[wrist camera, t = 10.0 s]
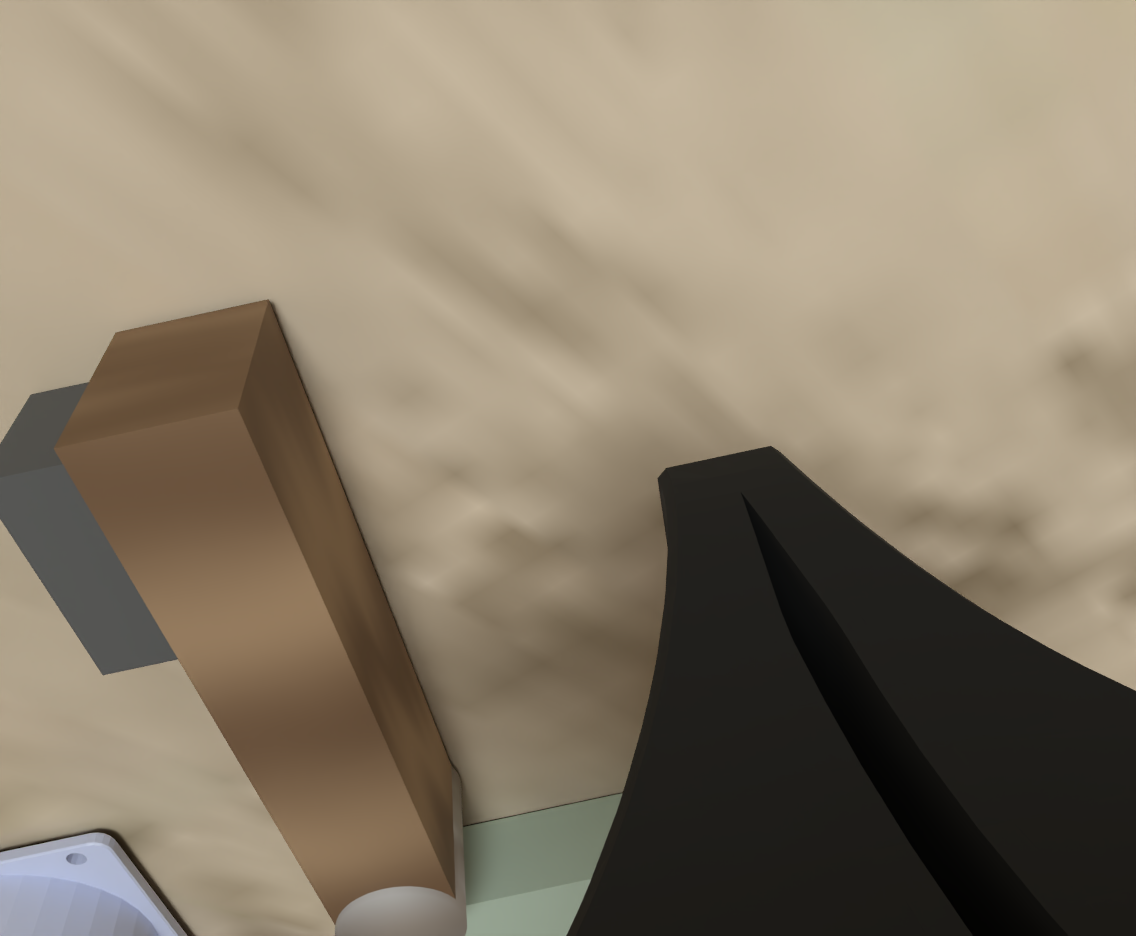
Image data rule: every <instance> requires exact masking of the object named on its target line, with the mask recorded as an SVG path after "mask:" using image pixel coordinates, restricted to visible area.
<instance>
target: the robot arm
mask: <svg viewBox="0 0 1136 936" xmlns="http://www.w3.org/2000/svg"><path fill="white" fill-rule="evenodd" d="M658 484H659V491H660V498H661V505H662V511H663V518H664V525H665V532H666V539H667V546H668V557H667V577H666V594H665V604H664V612H663V619H662V626H661V633H660V640H659V647H658V654H657V660H656V665H655V671H654V676H653V681H652V686H651V690H650V695H649V700H648V704H647V708H646V712H645V716H644V721H643V725H642V729H641V733H640V736H639V740H638V743H637V747H636V750H635V754H634V757H633V761H632V764H631V768H630V771H629V775H628V778H627V781H626V784H625V788H624V791H623V794H622V797H621V800H620V803H619V806H618V809H617V812H616V815H615V817H614V820H613V823H612V825H611V828H610V831H609V833H608V836H607V838H606V841H605V844H604V846H603V849H602V852H601V854H600V857H599V860H598V862H597V865H596V868H595V870H594V873H593V876H592V878H591V881H590V883H589V886H588V888H587V891H586V893H585V895H584V898H583V900H582V903H581V905H580V907H579V909H578V912H577V914H576V916H575V918H574V920H573V922H572V925H571V927H570V929H569V931H568V933H567V935H566V936H1136V691H1135V690H1133V689H1131V688H1129V687H1127V686H1124V685H1122V684H1120V683H1118V682H1116V681H1114V680H1112V679H1110V678H1108V677H1106V676H1103V675H1101V674H1099V673H1097V672H1095V671H1093V670H1091V669H1089V668H1087V667H1085V666H1083V665H1081V664H1079V663H1077V662H1075V661H1073V660H1071V659H1069V658H1067V657H1065V656H1063V655H1062V654H1060V653H1058V652H1056V651H1054V650H1052V649H1050V648H1048V647H1046V646H1045V645H1043V644H1041V643H1039V642H1038V641H1036V640H1034V639H1032V638H1031V637H1029V636H1027V635H1025V634H1024V633H1022V632H1020V631H1018V630H1017V629H1015V628H1013V627H1011V626H1010V625H1008V624H1006V623H1004V622H1003V621H1001V620H999V619H998V618H996V617H995V616H993V615H991V614H990V613H988V612H986V611H985V610H983V609H982V608H980V607H979V606H977V605H976V604H974V603H972V602H971V601H969V600H968V599H966V598H965V597H963V596H962V595H960V594H959V593H957V592H956V591H954V590H953V589H951V588H950V587H948V586H947V585H945V584H944V583H943V582H941V581H940V580H938V579H937V578H935V577H934V576H932V575H931V574H929V573H928V572H926V571H925V570H924V569H922V568H921V567H920V566H918V565H917V564H915V563H914V562H913V561H911V560H910V559H909V558H907V557H906V556H904V555H903V554H902V553H900V552H899V551H898V550H897V549H895V548H894V547H893V546H891V545H890V544H889V543H887V542H886V541H885V540H884V539H882V538H881V537H880V536H878V535H877V534H876V533H875V532H873V531H872V530H871V529H869V528H868V527H867V526H865V525H864V524H863V523H862V522H860V521H859V520H858V519H857V518H855V517H854V516H853V515H852V514H851V513H849V512H848V511H847V510H846V509H844V508H843V507H842V506H841V505H840V504H839V503H837V502H836V501H835V500H834V499H833V498H831V497H830V496H829V495H828V494H827V493H826V492H824V491H823V490H822V489H821V488H820V487H819V486H817V485H816V484H815V483H814V482H813V481H812V480H811V479H809V478H808V477H807V476H806V475H805V474H804V473H803V472H802V471H800V470H799V469H798V468H797V467H796V466H795V465H794V464H793V463H792V462H791V461H789V460H788V459H787V458H786V457H785V456H784V455H783V454H782V453H781V452H779V451H778V450H776V449H775V448H773V447H772V446H768V447H764V448H759V449H754V450H749V451H745V452H740V453H735V454H731V455H726V456H721V457H716V458H712V459H707V460H702V461H698V462H693V463H688V464H684V465H679V466H674V467H669V468H666V469H665V470H664V471H663V473H662V474H661V475H660V476H659V477H658ZM0 936H187V934H186V933H185V932H184V931H183V929H182V928H181V927H180V925H179V924H178V923H177V921H176V920H175V919H174V917H173V916H172V915H171V913H170V912H169V911H168V909H167V908H166V907H165V905H164V904H163V903H162V901H161V900H160V899H159V897H158V896H157V895H156V893H155V892H154V891H153V889H152V888H151V887H150V885H149V884H148V883H147V881H146V880H145V879H144V877H143V876H142V875H141V873H140V872H139V871H138V869H137V868H136V867H135V865H134V864H133V863H132V861H131V860H130V859H129V857H128V856H127V855H126V854H125V852H124V851H123V850H122V848H121V847H120V846H119V844H118V843H117V842H116V840H115V839H114V838H112V837H111V836H110V835H107V834H105V833H99V832H96V833H88V834H83V835H79V836H74V837H69V838H65V839H60V840H55V841H51V842H46V843H41V844H36V845H32V846H27V847H22V848H18V849H13V850H8V851H4V852H0Z"/></svg>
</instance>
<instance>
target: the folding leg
mask: <svg viewBox="0 0 1136 936" xmlns="http://www.w3.org/2000/svg"><path fill="white" fill-rule="evenodd" d="M54 450H55V452H56V454H57V455H58V457H59V459H60V460H61V462H62V464H63V465H64V467H65V469H66V470H67V472H68V474H69V476H70V477H71V479H72V481H73V482H74V484H75V486H76V487H77V489H78V491H79V492H80V494H81V496H82V498H83V499H84V501H85V503H86V504H87V506H88V508H89V509H90V511H91V513H92V514H93V516H94V518H95V520H96V521H97V523H98V525H99V526H100V528H101V530H102V531H103V533H104V535H105V536H106V538H107V540H108V542H109V543H110V545H111V547H112V548H113V550H114V552H115V553H116V555H117V557H118V558H119V560H120V562H121V563H122V565H123V567H124V569H125V570H126V572H127V574H128V575H129V577H130V579H131V580H132V582H133V584H134V585H135V587H136V589H137V591H138V592H139V594H140V596H141V597H142V599H143V601H144V602H145V604H146V606H147V607H148V609H149V611H150V613H151V614H152V616H153V618H154V619H155V621H156V623H157V624H158V626H159V628H160V629H161V631H162V633H163V635H164V636H165V638H166V640H167V641H168V643H169V645H170V646H171V648H172V650H173V651H174V653H175V655H176V657H177V658H178V660H179V662H180V663H181V665H182V667H183V668H184V670H185V672H186V673H187V675H188V677H189V679H190V680H191V682H192V684H193V685H194V687H195V689H196V690H197V692H198V694H199V695H200V697H201V699H202V701H203V702H204V704H205V706H206V707H207V709H208V711H209V712H210V714H211V716H212V717H213V719H214V721H215V723H216V724H217V726H218V728H219V729H220V731H221V733H222V734H223V736H224V738H225V739H226V741H227V743H228V744H229V746H230V748H231V750H232V751H233V753H234V755H235V756H236V758H237V760H238V761H239V763H240V765H241V766H242V768H243V770H244V772H245V773H246V775H247V777H248V778H249V780H250V782H251V783H252V785H253V787H254V788H255V790H256V792H257V794H258V795H259V797H260V799H261V800H262V802H263V804H264V805H265V807H266V809H267V810H268V812H269V814H270V816H271V817H272V819H273V821H274V822H275V824H276V826H277V827H278V829H279V831H280V832H281V834H282V836H283V838H284V839H285V841H286V843H287V844H288V846H289V848H290V849H291V851H292V853H293V854H294V856H295V858H296V860H297V861H298V863H299V865H300V866H301V868H302V870H303V871H304V873H305V875H306V876H307V878H308V880H309V882H310V883H311V885H312V887H313V888H314V890H315V892H316V893H317V895H318V897H319V898H320V900H321V902H322V904H323V905H324V907H325V909H326V910H327V912H328V914H329V915H330V917H331V919H332V920H333V922H334V924H335V936H465V934H466V931H467V913H466V890H465V866H464V842H463V818H462V794H461V781H460V777H459V775H458V773H457V772H456V770H455V769H454V768H453V767H452V766H451V764H450V761H449V759H448V756H447V754H446V751H445V748H444V746H443V743H442V741H441V738H440V736H439V733H438V731H437V728H436V725H435V723H434V720H433V718H432V715H431V713H430V710H429V708H428V705H427V702H426V700H425V697H424V695H423V692H422V690H421V687H420V685H419V682H418V679H417V677H416V674H415V672H414V669H413V667H412V664H411V662H410V659H409V657H408V654H407V651H406V649H405V646H404V644H403V641H402V639H401V636H400V634H399V631H398V628H397V626H396V623H395V621H394V618H393V616H392V613H391V611H390V608H389V605H388V603H387V600H386V598H385V595H384V593H383V590H382V588H381V585H380V582H379V580H378V577H377V575H376V572H375V570H374V567H373V565H372V562H371V559H370V557H369V554H368V552H367V549H366V547H365V544H364V542H363V539H362V537H361V534H360V531H359V529H358V526H357V524H356V521H355V519H354V516H353V514H352V511H351V508H350V506H349V503H348V501H347V498H346V496H345V493H344V491H343V488H342V485H341V483H340V480H339V478H338V475H337V473H336V470H335V468H334V465H333V462H332V460H331V457H330V455H329V452H328V450H327V447H326V445H325V442H324V440H323V437H322V434H321V432H320V429H319V427H318V424H317V422H316V419H315V417H314V414H313V411H312V409H311V406H310V404H309V401H308V399H307V396H306V394H305V391H304V388H303V386H302V383H301V381H300V378H299V376H298V373H297V371H296V368H295V365H294V363H293V360H292V358H291V355H290V353H289V350H288V348H287V345H286V342H285V340H284V337H283V335H282V332H281V330H280V327H279V325H278V322H277V320H276V317H275V314H274V312H273V309H272V307H271V304H270V302H269V299H268V300H263V301H259V302H254V303H250V304H245V305H241V306H236V307H231V308H227V309H222V310H218V311H213V312H208V313H204V314H199V315H195V316H190V317H185V318H181V319H176V320H172V321H167V322H162V323H158V324H153V325H149V326H144V327H139V328H135V329H130V330H126V331H121V332H117V333H115V335H114V337H113V339H112V341H111V342H110V344H109V346H108V348H107V350H106V352H105V354H104V355H103V357H102V359H101V361H100V363H99V365H98V367H97V369H96V370H95V372H94V374H93V376H92V378H91V380H90V382H89V383H88V385H87V387H86V389H85V391H84V393H83V395H82V396H81V398H80V400H79V402H78V404H77V406H76V408H75V410H74V411H73V413H72V415H71V417H70V419H69V421H68V423H67V424H66V426H65V428H64V430H63V432H62V434H61V436H60V438H59V439H58V441H57V443H56V445H55V447H54Z"/></svg>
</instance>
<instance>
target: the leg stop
mask: <svg viewBox="0 0 1136 936" xmlns="http://www.w3.org/2000/svg"><path fill="white" fill-rule="evenodd" d="M88 383H89V382H88ZM88 383H84V384H79V385H74V386H69V387H65V388H60V389H55V390H51V391H46V392H41V393H36V394H32V395H30V397H29V398H28V400H27V402H26V403H25V405H24V407H23V408H22V410H21V411H20V413H19V415H18V416H17V418H16V419H15V421H14V423H13V424H12V426H11V428H10V429H9V431H8V432H7V434H6V436H5V437H4V439H3V441H2V442H1V444H0V519H1V521H2V522H3V524H4V525H5V527H6V528H7V530H8V531H9V533H10V534H11V536H12V537H13V539H14V540H15V542H16V544H17V545H18V547H19V548H20V550H21V551H22V553H23V554H24V556H25V557H26V559H27V560H28V562H29V563H30V565H31V566H32V568H33V569H34V571H35V573H36V574H37V576H38V577H39V579H40V580H41V582H42V583H43V585H44V586H45V588H46V589H47V591H48V592H49V594H50V595H51V597H52V598H53V600H54V601H55V603H56V605H57V606H58V608H59V609H60V611H61V612H62V614H63V615H64V617H65V618H66V620H67V621H68V623H69V624H70V626H71V627H72V629H73V630H74V632H75V633H76V635H77V637H78V638H79V640H80V641H81V643H82V644H83V646H84V647H85V649H86V650H87V652H88V653H89V655H90V656H91V658H92V659H93V661H94V662H95V664H96V666H97V667H98V669H99V670H100V672H101V673H102V675H106V674H111V673H116V672H120V671H125V670H130V669H134V668H139V667H144V666H149V665H153V664H158V663H163V662H167V661H172V660H177V659H178V658H177V657H176V655H175V653H174V651H173V650H172V648H171V646H170V645H169V643H168V641H167V640H166V638H165V636H164V635H163V633H162V631H161V629H160V628H159V626H158V624H157V623H156V621H155V619H154V618H153V616H152V614H151V613H150V611H149V609H148V607H147V606H146V604H145V602H144V601H143V599H142V597H141V596H140V594H139V592H138V591H137V589H136V587H135V585H134V584H133V582H132V580H131V579H130V577H129V575H128V574H127V572H126V570H125V569H124V567H123V565H122V563H121V562H120V560H119V558H118V557H117V555H116V553H115V552H114V550H113V548H112V547H111V545H110V543H109V542H108V540H107V538H106V536H105V535H104V533H103V531H102V530H101V528H100V526H99V525H98V523H97V521H96V520H95V518H94V516H93V514H92V513H91V511H90V509H89V508H88V506H87V504H86V503H85V501H84V499H83V498H82V496H81V494H80V492H79V491H78V489H77V487H76V486H75V484H74V482H73V481H72V479H71V477H70V476H69V474H68V472H67V470H66V469H65V467H64V465H63V464H62V462H61V460H60V459H59V457H58V455H57V454H56V452H55V450H54V447H55V445H56V443H57V441H58V439H59V438H60V436H61V434H62V432H63V430H64V428H65V426H66V424H67V423H68V421H69V419H70V417H71V415H72V413H73V411H74V410H75V408H76V406H77V404H78V402H79V400H80V398H81V396H82V395H83V393H84V391H85V389H86V387H87V385H88Z"/></svg>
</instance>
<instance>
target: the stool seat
mask: <svg viewBox="0 0 1136 936" xmlns="http://www.w3.org/2000/svg"><path fill="white" fill-rule="evenodd" d="M622 794H623V793H621V794H616V795H611V796H607V797H602V798H597V799H593V800H588V801H583V802H579V803H574V804H569V805H564V806H560V807H555V808H550V809H546V810H541V811H536V812H531V813H527V814H522V815H517V816H513V817H508V818H503V819H499V820H494V821H489V822H484V823H480V824H475V825H470V826H466V827H463V842H464V866H465V890H466V913H467V931H466V934H465V936H566V935H567V933H568V931H569V929H570V927H571V925H572V922H573V920H574V918H575V916H576V914H577V912H578V909H579V907H580V905H581V903H582V900H583V898H584V895H585V893H586V891H587V888H588V886H589V883H590V881H591V878H592V876H593V873H594V870H595V868H596V865H597V862H598V860H599V857H600V854H601V852H602V849H603V846H604V844H605V841H606V838H607V836H608V833H609V831H610V828H611V825H612V823H613V820H614V817H615V815H616V812H617V809H618V806H619V803H620V800H621V797H622Z"/></svg>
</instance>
